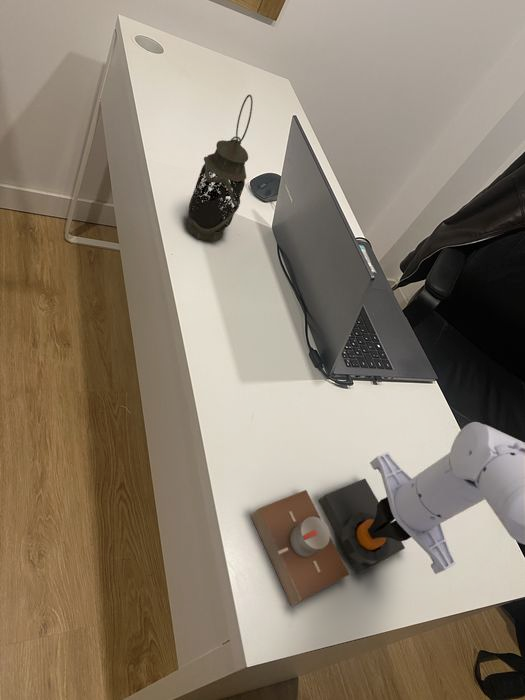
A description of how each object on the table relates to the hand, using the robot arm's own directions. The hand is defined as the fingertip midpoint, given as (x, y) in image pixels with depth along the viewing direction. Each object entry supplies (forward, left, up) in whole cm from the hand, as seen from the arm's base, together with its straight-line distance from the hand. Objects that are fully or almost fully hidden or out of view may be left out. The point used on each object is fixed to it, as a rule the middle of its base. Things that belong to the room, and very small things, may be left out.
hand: (375, 531), depth 66 cm
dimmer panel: (+3, +9, -6) cm, 11 cm away
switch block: (+2, -2, -6) cm, 6 cm away
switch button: (0, 0, -2) cm, 2 cm away
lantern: (+65, -4, -6) cm, 65 cm away
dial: (+3, +9, -3) cm, 10 cm away
